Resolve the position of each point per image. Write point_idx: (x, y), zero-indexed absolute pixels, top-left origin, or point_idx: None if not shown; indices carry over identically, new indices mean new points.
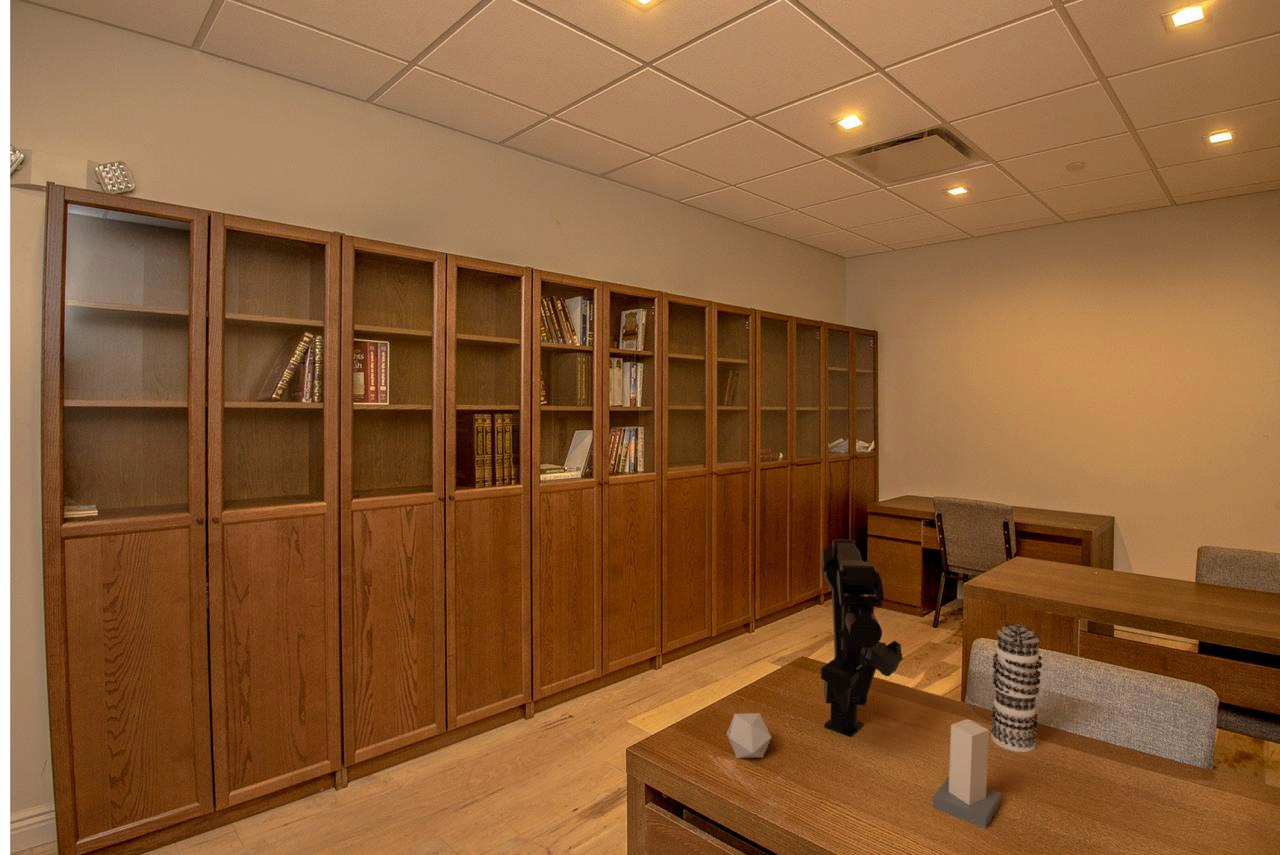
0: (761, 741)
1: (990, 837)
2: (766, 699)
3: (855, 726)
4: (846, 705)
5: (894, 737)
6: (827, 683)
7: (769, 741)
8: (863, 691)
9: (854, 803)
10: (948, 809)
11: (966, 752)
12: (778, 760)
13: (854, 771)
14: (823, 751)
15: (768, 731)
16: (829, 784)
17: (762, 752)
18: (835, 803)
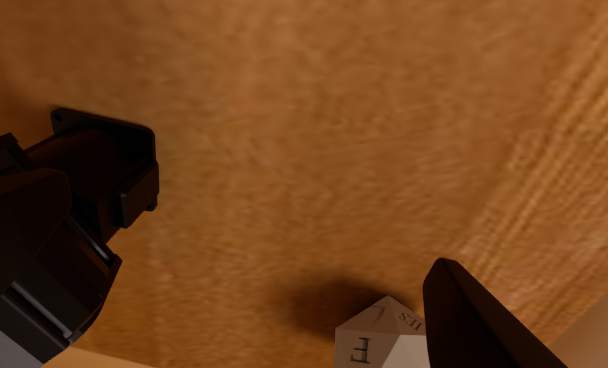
0: (426, 345)
1: None
2: (135, 330)
3: (98, 129)
4: (501, 311)
5: None
6: (75, 339)
7: (397, 325)
8: (56, 208)
9: (560, 28)
10: None
11: None
12: (384, 265)
13: (350, 73)
14: (282, 182)
15: (390, 351)
16: (460, 131)
17: (401, 309)
18: (571, 90)
